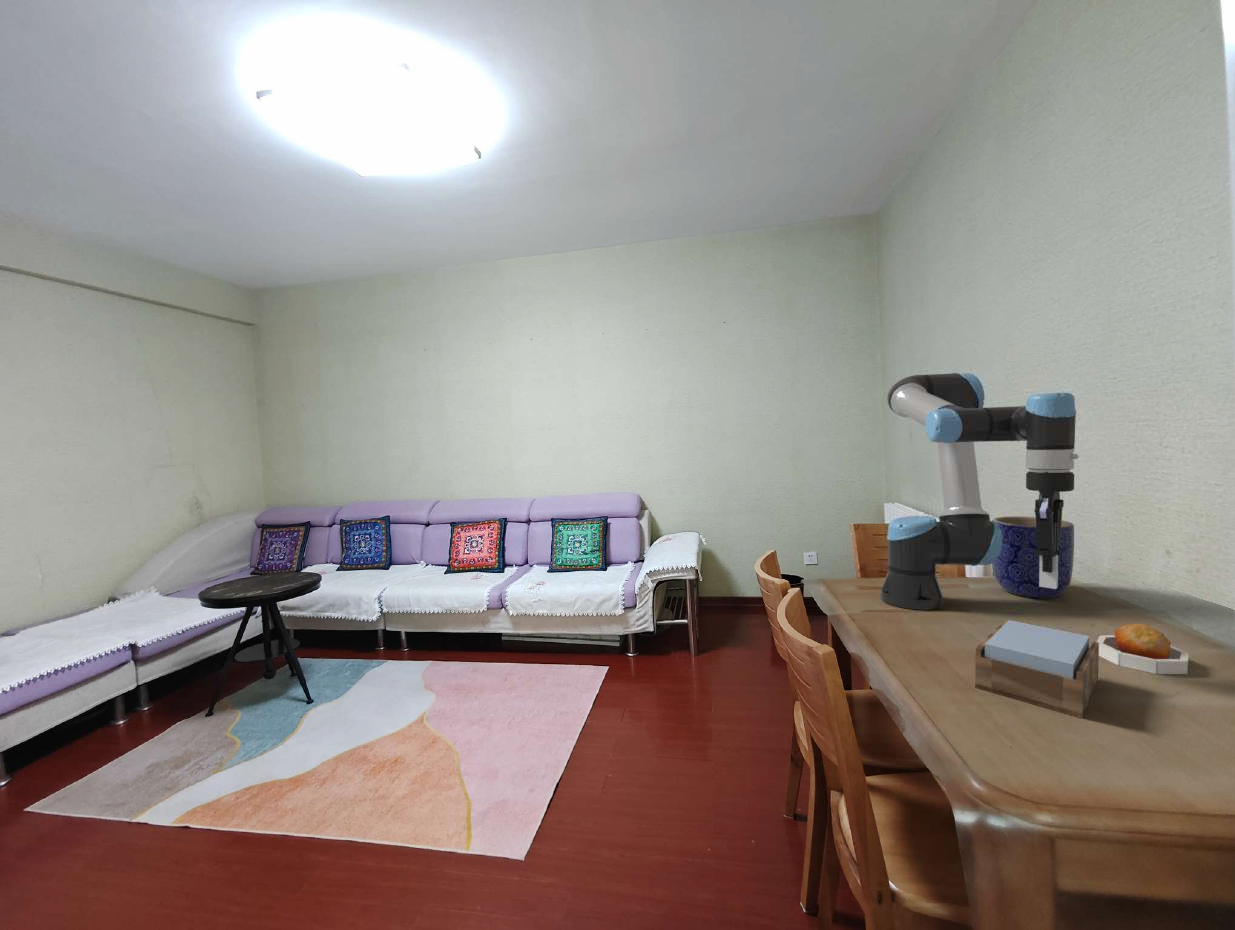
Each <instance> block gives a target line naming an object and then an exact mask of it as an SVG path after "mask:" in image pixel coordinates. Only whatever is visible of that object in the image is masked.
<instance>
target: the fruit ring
mask: <svg viewBox="0 0 1235 930" xmlns="http://www.w3.org/2000/svg"><path fill="white" fill-rule="evenodd" d="M1096 642H1098V643H1099V657H1100V658H1103V659H1105V660H1107V661H1108V662H1110V663H1112V664H1114V665H1117V666H1120V667H1124V668H1128V669H1133V670H1136V671H1141V672H1146V673H1150V674H1155V675H1156V674H1157V675H1188V670H1189V656H1190V655H1189V652H1187V651H1185V650H1183V649H1180V648H1177V647H1175V646H1172V645H1170V654H1169V658H1168V659H1152V658H1147V657H1142V656H1137V655H1132V654H1128V653H1123V652H1121V651H1120V650H1119V649H1118V647H1117V643H1116V639H1115V634H1114V635H1113V634H1112V635H1111V634H1109V635H1108V634H1107V635H1099V637H1098V638H1097V640H1096Z"/></svg>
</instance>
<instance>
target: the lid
mask: <svg viewBox="0 0 1235 930" xmlns="http://www.w3.org/2000/svg"><path fill="white" fill-rule="evenodd" d="M1004 623H1005V624H1004V625H1003V626H1002V627H1001V628H1000V629H999V630H998V631H997V632H996V633H995V634H994V635H993V636H992V637H991V638H990V639H989V640H988V641H987V642H986V643H985V657H986V658H990V659H994V660H998V661H1002V662H1006V663H1010V664H1014V665H1018V666H1022V667H1026V668H1030V669H1034V670H1038V671H1042V672H1046V673H1050V674H1054V675H1058V676H1062V677H1066V678H1070V679H1073V678H1074V676H1075V674H1076V673H1077V671H1078V669H1079V667H1080V665H1081V663H1082V661H1083V659H1084V658H1085V656H1086V654H1087V652H1088V650H1089V648H1090V635H1085V634H1079V633H1074V632H1070V631H1066V630H1060V629H1055V628H1049V627H1045V626H1041V625H1034V624H1030V623H1026V622H1021V621H1020V622H1019V621H1014V620H1010V619H1008V620H1007V621H1006V622H1004Z"/></svg>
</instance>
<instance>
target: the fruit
mask: <svg viewBox="0 0 1235 930" xmlns="http://www.w3.org/2000/svg"><path fill="white" fill-rule="evenodd" d="M1114 635H1115V639H1116V643H1117V647H1118V649H1117V650H1118V651H1121V652H1123V653H1128V654H1132V655H1137V656H1142V657H1147V658H1152V659H1168V658H1169V654H1170V646H1172V644H1171V640H1169V639H1168V637H1166V636H1165V634H1164V633H1163V632H1161V631H1159V630H1158V629H1155V628H1153V627H1151V626H1149V625H1147V624H1145V623H1129V624H1125V625H1122V626H1120V627H1119V628H1118V629H1116V630H1115V632H1114Z"/></svg>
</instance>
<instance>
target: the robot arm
mask: <svg viewBox="0 0 1235 930" xmlns="http://www.w3.org/2000/svg"><path fill="white" fill-rule="evenodd" d="M985 398H986V397H985V389H984V386H983V384H982V382H981V380H980V379H979V377H978V376H975V374H973V373H968V372H965V373H961V372H952V373H936V374H935V373H933V374H932V373H931V374H914V375H909V376H906V377H904V378H902V379H900V380H899V381H897V382H896V383H894V384H893V385H892V386H891V388H890V389H889V390H888V393H887V399H886V400H887V404H888V407H889V409H890V410H891V411H892V413H894V414H896V415H898V416H900V417H902V418H910V419H912V420H913V421H915V422H917V423H918V424H920V425H922V426H924V429H925V434H926V436H927V439H929V440H930V442H932V443H937V449H938V450H937V451H938V460H939V469H940V476H941V477H940V478H941V479H940V480H941V488H942V497H943V505H944V506H943V508H944V509H943V511H942V512H941V513H940V514H939V515H938V519H939V521H937V519H936V518H935V517H934V516H930V515H908V516H903V517H898V518H895V519H893V520H890V522H888V527H887V528H888V529H887V536H886V540H887V573H886V575H885V579H884V582H883V583H882V586H881V589H880V598H881V600H882V601H883V602H885V603H886V604H888V605H891V606H895V607H899V608H904V609H909V610H922V611H924V610H925V611H927V610H936V609H937V610H938V609H941V608H942V607H943V606H944V595H943V593H942V589H941V587H940V584H939V580H938V579H937V575H936V574H937V573H936V572H937V571H936V569H937V565H938V566H939V565H941V566H942V565H945V566H952V565H953V566H972V567H975V566H976V567H977V566H987V565H992V563H993V562H995V561H996V560H997V558H998V556H999V555H1000V552H1001V549H1002V543H1003V536H1002V531H1001V529H1000V526H999V525H998V524H997V523H995V522H993V521H992V520H991V517H990V513H989V512H988V511H985V510H984V509H983V508H982V501H981V493H980V490H981V489H980V483H979V476H978V475H979V474H978V469H977V468H978V466H977V460H976V459H977V458H976V451H975V443H977V442H983V443H984V442H987V443H988V442H1026V449H1025V468H1026V469H1027V470H1029V471H1027V472H1026V473H1025V488H1026V490H1029V491H1033V492H1034V491H1035V492H1039V494H1038V499H1035V502H1034V503H1035V504H1034V510H1033V511H1034V515H1035V516H1034V517H1036V530H1037V551H1036V552H1035V555H1040V563H1039V587H1046V588H1052V589H1057V588H1058V556H1057V555H1063V552H1061V551H1058V550H1060V548H1061V546H1060V537H1061V520H1062V519H1063V508H1064V503H1065V501H1064V499H1061V492H1063V493H1064V492H1072V491H1074V490H1075V473H1073V472H1072V471H1071V470H1073V469H1074V468H1075V460H1078V459H1079V455H1078V454H1077V453H1075V445H1076V444H1075V443H1076V442H1075V441H1076V417H1077V410H1076V401H1075V399H1076V397H1075V396H1074V395H1073V394H1072V393H1070V392H1049V393H1048V392H1047V393H1046V392H1045V393H1035V394H1030V395H1029V396H1028V398H1027V400H1026V405H1022V406H1021V405H1018V406H996V407H995V406H994V407H984V405H985V402H984V401H985Z"/></svg>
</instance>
